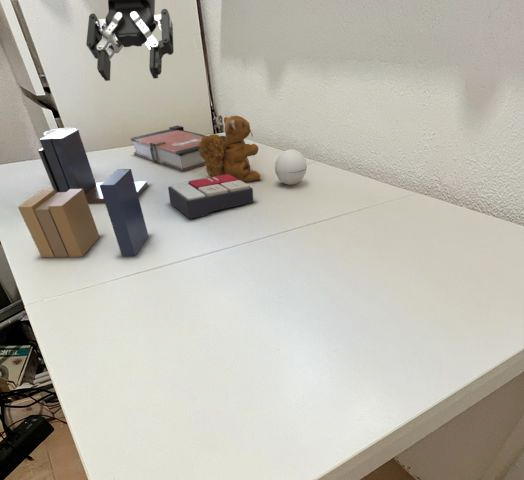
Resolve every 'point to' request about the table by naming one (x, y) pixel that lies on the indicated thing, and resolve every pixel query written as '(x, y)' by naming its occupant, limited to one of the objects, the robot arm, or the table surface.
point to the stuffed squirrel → (230, 151)
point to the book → (171, 148)
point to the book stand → (72, 165)
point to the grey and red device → (209, 195)
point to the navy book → (124, 211)
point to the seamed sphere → (290, 167)
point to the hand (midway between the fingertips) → (129, 76)
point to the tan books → (60, 223)
